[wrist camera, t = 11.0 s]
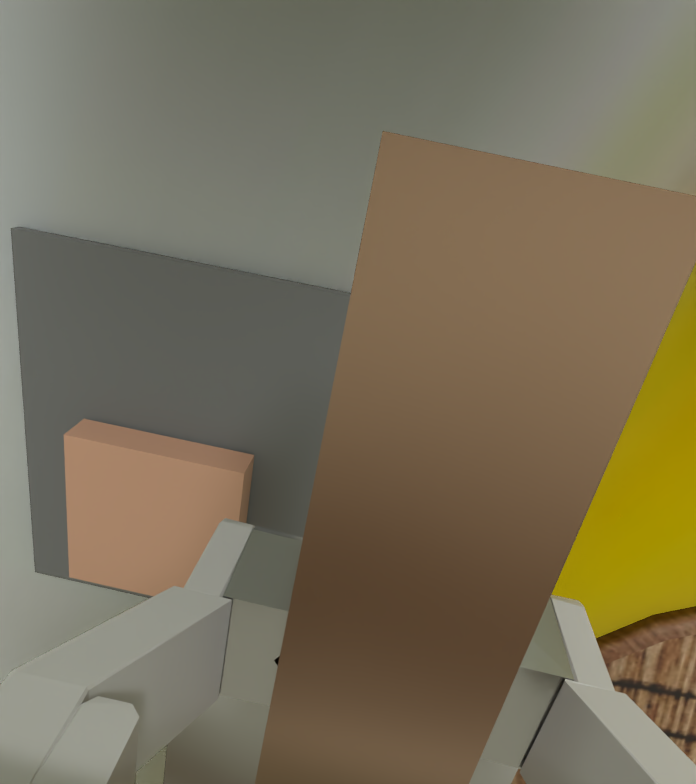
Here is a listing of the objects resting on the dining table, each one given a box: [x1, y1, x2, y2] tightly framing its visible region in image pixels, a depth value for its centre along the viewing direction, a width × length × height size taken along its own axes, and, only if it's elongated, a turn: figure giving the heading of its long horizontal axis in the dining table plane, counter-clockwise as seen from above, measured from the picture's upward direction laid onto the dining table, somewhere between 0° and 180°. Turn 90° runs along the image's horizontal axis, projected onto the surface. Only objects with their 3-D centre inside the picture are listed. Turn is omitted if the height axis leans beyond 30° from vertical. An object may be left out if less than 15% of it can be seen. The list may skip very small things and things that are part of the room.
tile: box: [64, 419, 254, 596], centre depth 27 cm, size 2×8×8 cm
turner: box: [163, 131, 696, 784], centre depth 10 cm, size 18×7×4 cm, turn 169°
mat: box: [11, 227, 351, 598], centre depth 26 cm, size 18×14×1 cm
